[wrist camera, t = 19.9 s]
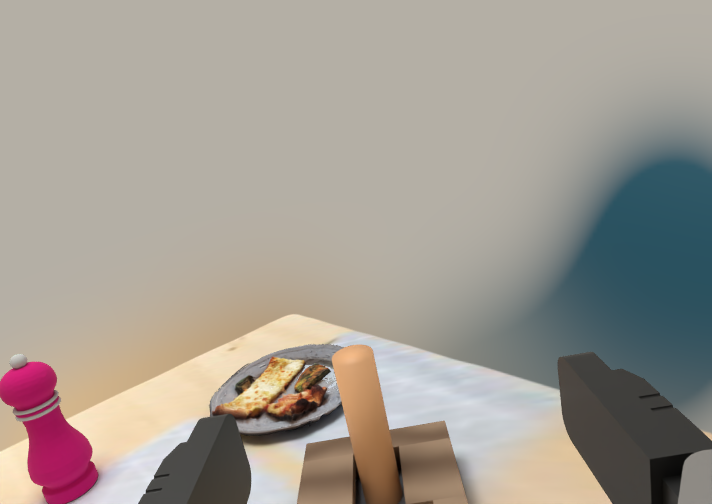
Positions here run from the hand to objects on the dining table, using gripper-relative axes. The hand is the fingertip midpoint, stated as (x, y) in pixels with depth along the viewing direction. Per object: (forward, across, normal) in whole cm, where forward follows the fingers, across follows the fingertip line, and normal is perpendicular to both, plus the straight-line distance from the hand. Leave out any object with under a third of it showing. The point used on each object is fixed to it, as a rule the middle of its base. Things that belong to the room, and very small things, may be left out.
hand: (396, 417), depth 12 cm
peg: (+31, +4, +32) cm, 45 cm away
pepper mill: (+42, +46, +32) cm, 71 cm away
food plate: (+57, +19, +32) cm, 68 cm away
